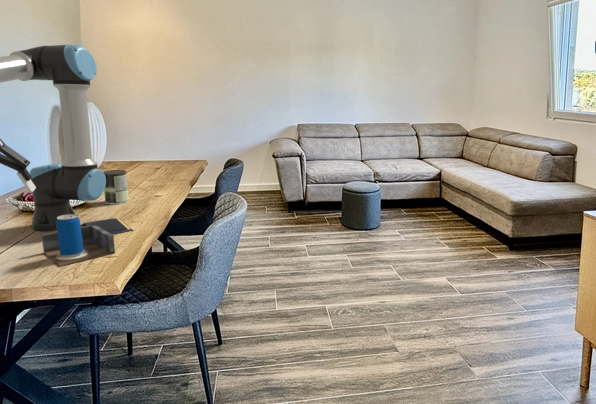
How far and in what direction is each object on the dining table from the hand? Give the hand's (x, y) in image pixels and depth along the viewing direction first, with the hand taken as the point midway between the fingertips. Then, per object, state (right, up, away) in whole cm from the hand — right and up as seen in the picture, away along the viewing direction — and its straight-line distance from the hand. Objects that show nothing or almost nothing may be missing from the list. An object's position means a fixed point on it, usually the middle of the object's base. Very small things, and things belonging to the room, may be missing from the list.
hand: (11, 196), depth 127 cm
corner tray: (+13, -18, +13) cm, 25 cm away
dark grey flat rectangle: (+11, -12, +39) cm, 42 cm away
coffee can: (-1, -2, +78) cm, 78 cm away
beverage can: (+12, -18, +10) cm, 24 cm away
